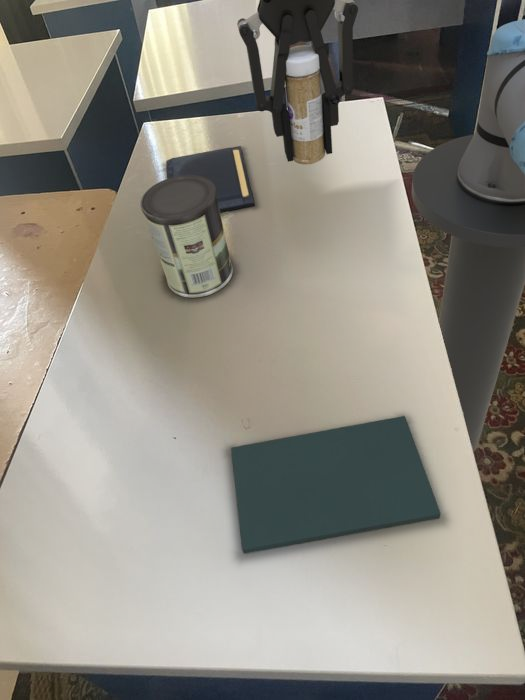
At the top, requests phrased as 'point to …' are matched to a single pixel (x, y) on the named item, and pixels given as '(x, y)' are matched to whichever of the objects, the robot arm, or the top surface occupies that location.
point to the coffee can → (188, 234)
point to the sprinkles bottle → (305, 104)
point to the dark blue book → (218, 175)
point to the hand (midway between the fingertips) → (308, 152)
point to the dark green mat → (330, 484)
